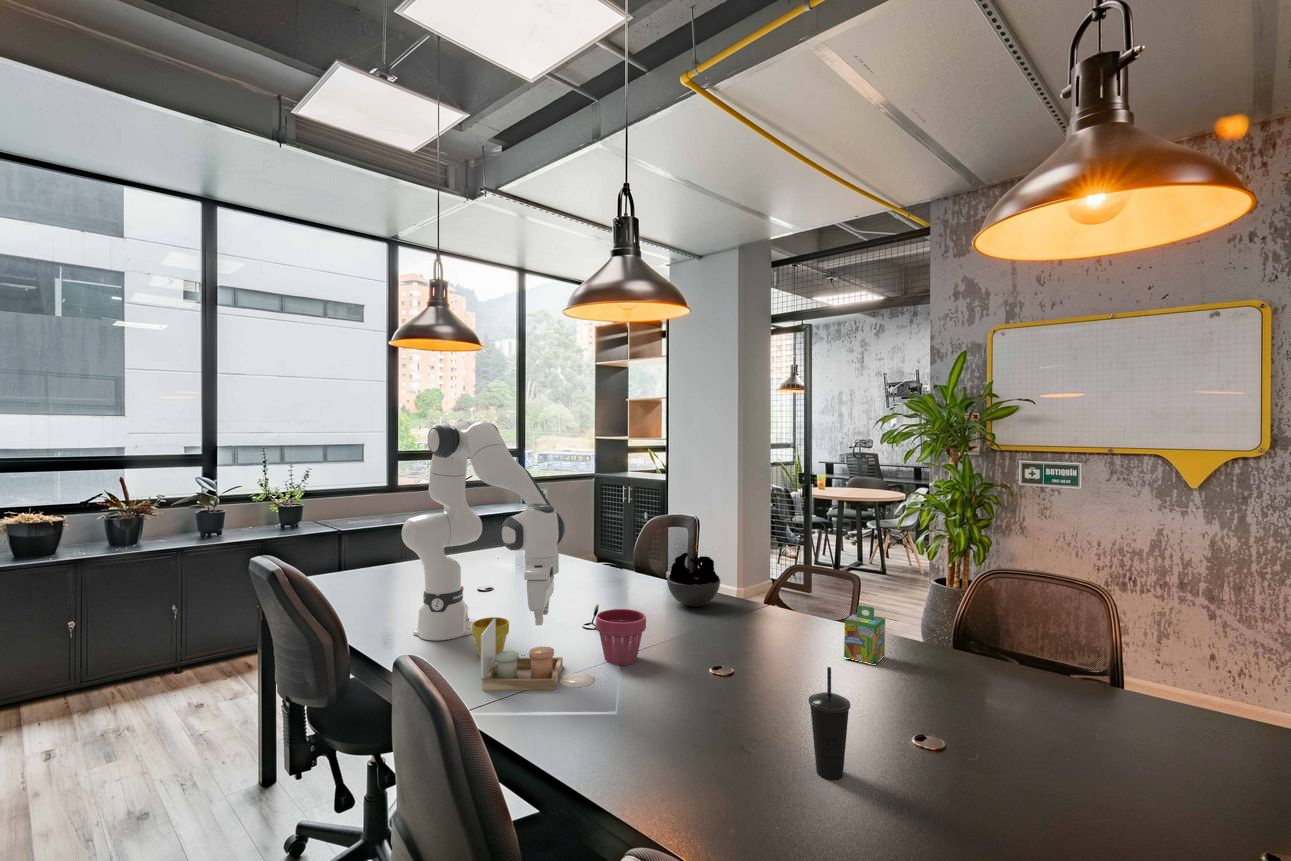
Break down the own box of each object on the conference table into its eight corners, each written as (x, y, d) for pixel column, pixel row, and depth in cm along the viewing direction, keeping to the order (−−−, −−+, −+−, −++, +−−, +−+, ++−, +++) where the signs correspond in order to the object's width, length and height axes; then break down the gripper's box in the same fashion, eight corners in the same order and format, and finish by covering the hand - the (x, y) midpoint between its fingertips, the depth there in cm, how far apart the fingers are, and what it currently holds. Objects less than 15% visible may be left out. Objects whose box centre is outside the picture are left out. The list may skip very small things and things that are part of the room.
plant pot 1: (499, 663, 175) (499, 628, 175) (465, 660, 177) (465, 626, 177) (514, 651, 185) (514, 618, 185) (482, 648, 187) (482, 616, 187)
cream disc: (561, 675, 166) (561, 672, 166) (595, 675, 166) (595, 672, 166) (557, 689, 157) (557, 686, 157) (593, 689, 157) (593, 686, 157)
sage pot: (498, 673, 166) (498, 650, 166) (520, 673, 166) (520, 650, 166) (493, 682, 160) (493, 658, 160) (516, 682, 160) (516, 658, 160)
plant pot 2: (653, 655, 181) (653, 611, 181) (632, 672, 168) (632, 625, 168) (610, 648, 187) (610, 606, 187) (586, 664, 174) (586, 618, 174)
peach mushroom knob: (531, 672, 166) (531, 646, 166) (555, 672, 166) (555, 646, 166) (527, 682, 160) (527, 655, 160) (552, 682, 160) (552, 655, 160)
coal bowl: (723, 613, 224) (723, 561, 224) (667, 613, 224) (667, 560, 224) (717, 598, 244) (717, 550, 244) (666, 598, 244) (666, 550, 244)
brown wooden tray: (496, 668, 171) (496, 657, 171) (562, 668, 171) (562, 657, 171) (482, 692, 155) (482, 680, 155) (554, 692, 155) (554, 680, 155)
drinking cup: (803, 763, 121) (802, 660, 122) (841, 761, 122) (840, 659, 122) (817, 785, 114) (816, 676, 114) (857, 783, 114) (857, 674, 115)
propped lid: (493, 660, 170) (493, 618, 170) (496, 660, 170) (496, 618, 170) (480, 680, 156) (480, 635, 156) (484, 680, 156) (484, 635, 156)
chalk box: (843, 659, 177) (843, 608, 178) (853, 650, 185) (853, 601, 185) (876, 667, 172) (876, 613, 172) (885, 657, 179) (885, 606, 179)
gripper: (536, 558, 173) (536, 608, 173) (522, 574, 153) (523, 631, 153) (558, 558, 174) (559, 608, 173) (548, 574, 153) (548, 630, 153)
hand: (542, 619), depth 163 cm, fingers open, 8 cm apart
